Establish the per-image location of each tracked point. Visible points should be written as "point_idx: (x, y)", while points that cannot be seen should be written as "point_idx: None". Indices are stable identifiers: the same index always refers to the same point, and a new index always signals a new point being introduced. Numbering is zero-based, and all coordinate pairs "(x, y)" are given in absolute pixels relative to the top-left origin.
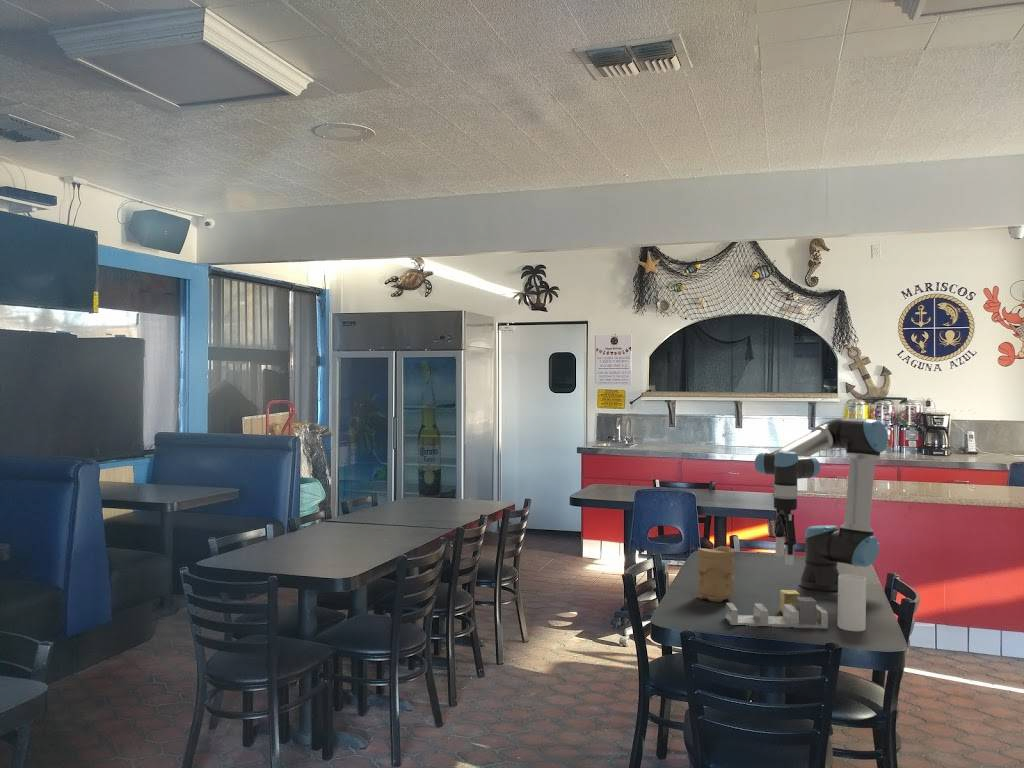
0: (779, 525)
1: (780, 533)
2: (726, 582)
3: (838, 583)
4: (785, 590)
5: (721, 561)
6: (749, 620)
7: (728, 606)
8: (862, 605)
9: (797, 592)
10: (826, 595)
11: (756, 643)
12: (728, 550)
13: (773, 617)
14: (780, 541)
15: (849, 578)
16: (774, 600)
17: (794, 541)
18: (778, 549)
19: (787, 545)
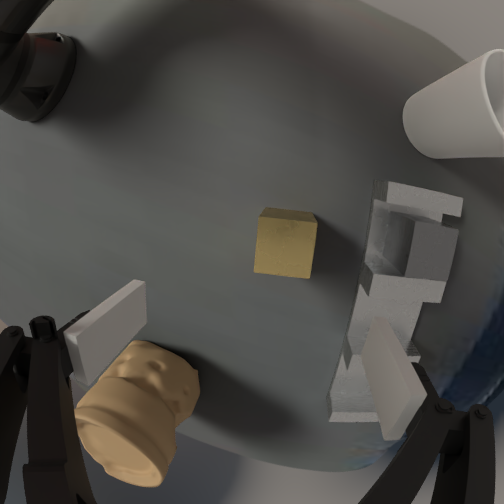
0: (87, 482)
1: (64, 380)
2: (184, 396)
3: (502, 153)
4: (262, 256)
5: (169, 451)
6: None
7: (357, 421)
8: (492, 106)
9: (293, 221)
10: (105, 70)
11: (476, 373)
12: (90, 423)
13: (366, 311)
14: (97, 344)
15: (475, 79)
16: (152, 228)
17: (484, 424)
18: (127, 328)
19: (403, 426)
